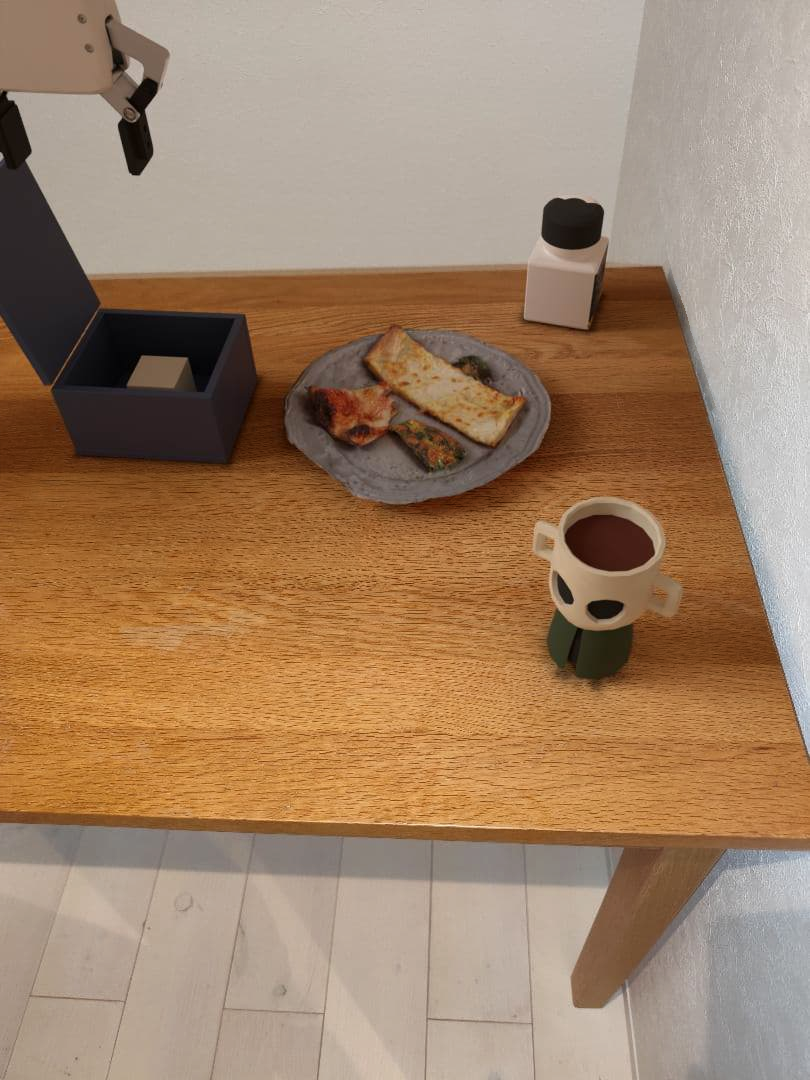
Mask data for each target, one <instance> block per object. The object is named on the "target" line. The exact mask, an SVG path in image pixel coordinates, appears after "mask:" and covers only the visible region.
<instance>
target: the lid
mask: <svg viewBox="0 0 810 1080" xmlns="http://www.w3.org/2000/svg"><path fill="white" fill-rule="evenodd" d="M93 287H94V286H93V285H92V283H91V282H90V279H89V278H88V276H87V274H86V272H85V269H84V268H83V266H82V264H81V262H80V261H79V259H78V257H77V255H76V253H75V251H74V250H73V247H72V245H71V243H70V242H69V240H68V237H67V236H66V234H65V232H64V230H63V229H62V226H61V224H60V223H59V221H58V219H57V216H56V215H55V213H54V212H53V210H52V208H51V206H50V204H49V202H48V200H47V198H46V196H45V195H44V193H43V191H42V189H41V187H40V185H39V183H38V181H37V179H36V178H35V176H34V174H33V172H32V170H31V168H30V166H29V164H28V162H27V159H26V160H25V161H24V162H23V164H22V165H21V166H20V167H19V168H18V169H17V170H9V169H8V168H7V166H6V163H5V160H4V157H2V159H1V160H0V318H1V319H2V321H3V322H4V324H5V326H6V327H7V329H8V331H9V332H10V334H11V335H12V337H13V339H14V340H15V342H16V343H17V345H18V346H19V348H20V350H21V351H22V353H23V354H24V356H25V358H26V359H27V360H28V362H29V364H30V365H31V367H32V369H33V370H34V372H35V374H36V375H37V376H38V378H39V379H40V381H41V383H42V384H43V386H45V387H46V386H47V387H48V386H53V385H54V383H55V381H56V380H57V378H58V376H59V375H60V373H61V371H62V370H63V368H64V366H65V365H66V363H67V361H68V360H69V358H70V356H71V355H72V353H73V351H74V350H75V348H76V346H77V345H78V343H79V341H80V340H81V338H82V336H83V335H84V333H85V331H86V330H87V328H88V326H89V325H90V323H91V321H92V320H93V318H94V316H95V315H96V313H97V311H98V309H99V308H100V306H101V304H102V302H101V301H100V299H99V297H98V295H97V293H96V291H95V289H94V288H93Z"/></svg>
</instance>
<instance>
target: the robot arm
mask: <svg viewBox="0 0 810 1080" xmlns="http://www.w3.org/2000/svg"><path fill="white" fill-rule="evenodd" d="M121 19H122V18H121V15H120V12H119V9H118V5H117V3H116V0H0V154H1V155H2V158H4V160H5V163H6V166H7V168H8V169H9V170H17V169H18V168H19V167H20V166H21V165H22V164H23V162H24V161H25V160H26V161H27V159H28V158H29V157H30V156H31V155H32V152H33V149H32V146H31V143H30V140H29V137H28V133H27V130H26V128H25V125H24V121H23V118H22V115H21V112H20V109H19V106H18V104H17V103H16V102H15V101H16V100H13V99H9V98H8V96H9V94H10V92H11V93H29V94H50V95H51V94H53V95H55V94H56V95H57V94H58V95H79V96H80V95H81V96H85V95H86V96H93V95H94V96H96V95H99V96H100V97H101V98H103V100H104V101H106V103H108V104H109V105H110V106H111V107H112V108H113V110H115V111H116V112H117V113H118V114H119V116H121V118H120V120H119V121H118V122H117V131H118V135H119V138H120V139H119V140H120V142H121V146H122V151H123V155H124V158H125V163H126V167H127V171H128V174H131V176H133V177H134V176H135V177H136V176H137V177H139V176H141V175H142V174H143V172H144V170H145V168H146V167H147V166H148V164H149V163H150V161H151V160H152V158H153V156H154V144H153V140H152V136H151V130H150V126H149V121H148V117H147V113H146V110H147V108H148V106H149V105H150V104H151V102H153V100H154V98H155V97H156V96H157V95H158V93H159V92H160V90H161V89H162V88H163V84H164V83H163V82H164V79H165V78H166V77H165V76H166V73H167V69H168V65H169V63H170V59H171V54H170V52H169V50H168V49H167V48H166V47H164V46H163V45H161V44H159V43H157V42H156V41H154V40H152V39H150V38H148V37H146V36H145V35H143V34H141V33H140V32H137V31H135V30H134V29H132V28H130V27H128V26H127V25H124V24H123V23H122V20H121ZM131 59H134V60H135V61H138V62H139V63H140V64H141V65H142V67H143V73H142V78H141V82H140V83H139V84H138V83H137V82H136V81H135V80H134V79H133V78H132V77H131V76H130V74H128V72H126V71H127V70H128V69H129V68H130V66H131Z"/></svg>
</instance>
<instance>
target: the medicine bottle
mask: <svg viewBox="0 0 810 1080" xmlns="http://www.w3.org/2000/svg"><path fill="white" fill-rule="evenodd" d="M604 218H605V209H604V207H603V206H602V204H601V203H600V202H598V201H597V200H596V199H594V198H592V197H590V196H586V195H581V194H563V195H559V196H555V197H554V198H552V199H550V200H549V201H548V202H547V203H546V204H545V205H544V207H543V208H542V219H541V220H542V221H541V231H540V235H539V238H538V239H537V242H536V244H535V246H534V248H533V250H532V253H531V255H530V257H529V260H528V261H527V269H526V270H527V271H526V282H525V296H524V309H523V319H524V320H525V321H528V322H535V323H541V324H547V325H553V326H560V327H565V328H572V329H577V330H584V331H588V330H589V329H590V328H591V325H592V322H593V320H594V316H595V313H596V310H597V307H598V304H599V301H600V298H601V296H602V290H603V283H604V277H605V270H606V269H605V268H606V263H607V257H608V250H609V243H610V239H609V237H607V236H604V235H603V236H602V232H603V226H604Z"/></svg>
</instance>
